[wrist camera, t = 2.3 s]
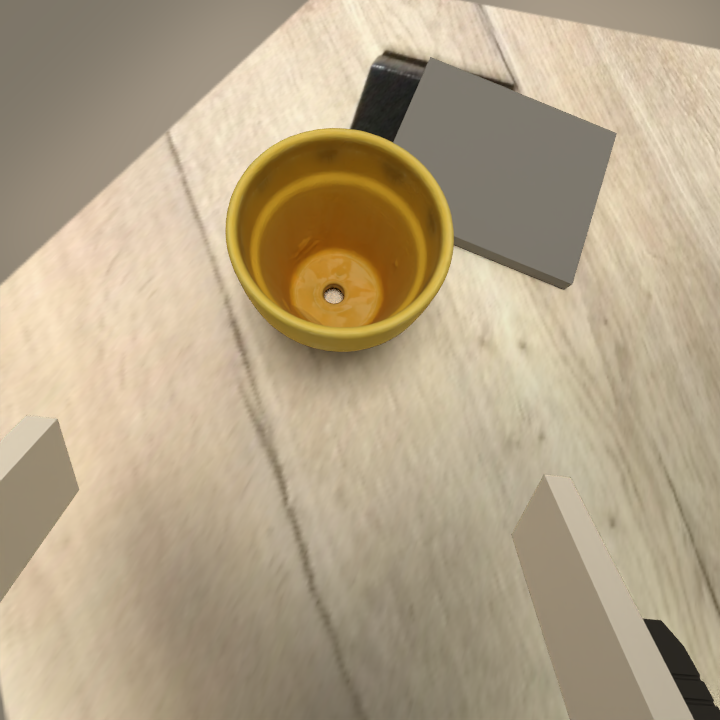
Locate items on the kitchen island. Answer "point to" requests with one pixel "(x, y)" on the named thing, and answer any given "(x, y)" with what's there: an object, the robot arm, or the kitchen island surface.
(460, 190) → the trivet mat
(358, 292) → the plant pot
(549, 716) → the kitchen island surface
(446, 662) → the kitchen island surface
